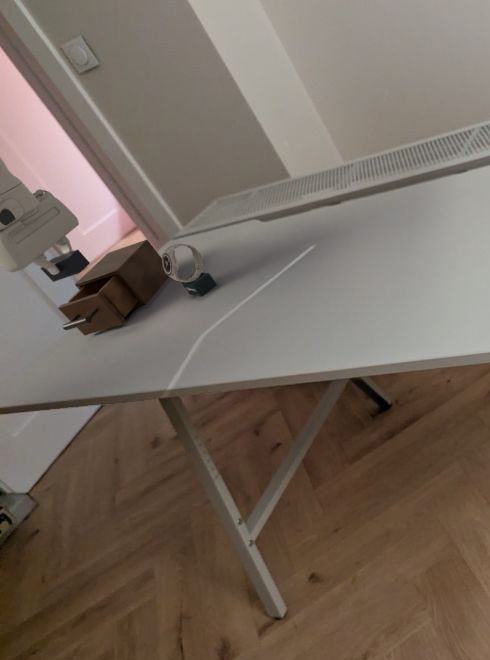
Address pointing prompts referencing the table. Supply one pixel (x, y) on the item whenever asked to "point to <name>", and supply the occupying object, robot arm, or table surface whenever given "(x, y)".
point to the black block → (68, 265)
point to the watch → (197, 281)
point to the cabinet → (131, 270)
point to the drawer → (99, 305)
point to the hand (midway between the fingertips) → (65, 266)
